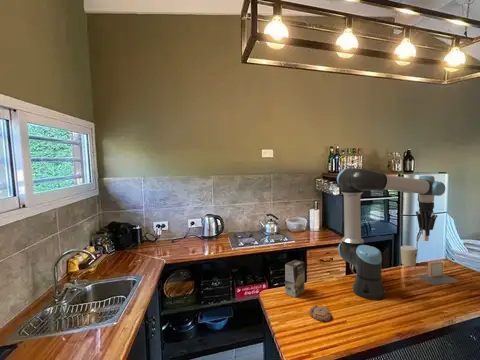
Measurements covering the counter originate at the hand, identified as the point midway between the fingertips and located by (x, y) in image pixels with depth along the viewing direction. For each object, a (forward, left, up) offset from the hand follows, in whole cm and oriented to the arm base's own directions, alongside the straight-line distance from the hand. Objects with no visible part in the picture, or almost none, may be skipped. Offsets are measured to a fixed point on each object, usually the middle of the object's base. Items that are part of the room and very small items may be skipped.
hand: (425, 240), depth 160 cm
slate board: (-2, -10, -20) cm, 22 cm away
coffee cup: (0, +12, -20) cm, 24 cm away
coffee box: (-85, -4, -20) cm, 88 cm away
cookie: (-82, -26, -21) cm, 89 cm away
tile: (0, -7, -19) cm, 20 cm away
